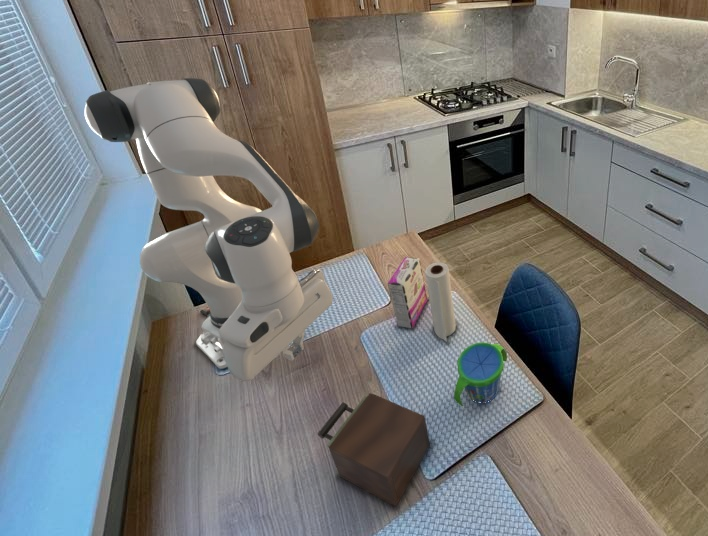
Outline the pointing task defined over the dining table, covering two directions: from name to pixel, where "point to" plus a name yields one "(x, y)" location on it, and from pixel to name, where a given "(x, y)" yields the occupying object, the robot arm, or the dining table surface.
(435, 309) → the paper towel roll
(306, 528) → the dining table surface
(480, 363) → the snack cup
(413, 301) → the candy bar box
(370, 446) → the cabinet
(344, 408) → the drawer
